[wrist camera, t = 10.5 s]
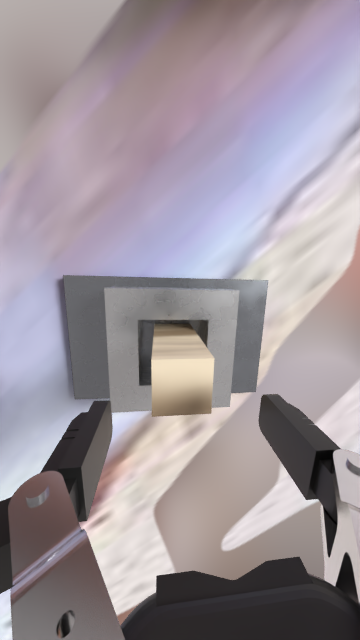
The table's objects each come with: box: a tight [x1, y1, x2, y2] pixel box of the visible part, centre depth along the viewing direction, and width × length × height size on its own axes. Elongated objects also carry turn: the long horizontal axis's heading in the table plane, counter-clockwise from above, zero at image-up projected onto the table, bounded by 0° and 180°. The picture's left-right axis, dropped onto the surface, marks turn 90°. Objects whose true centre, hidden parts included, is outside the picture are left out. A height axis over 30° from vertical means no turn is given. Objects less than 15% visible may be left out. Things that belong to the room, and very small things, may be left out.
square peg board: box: [63, 275, 268, 413], centre depth 21 cm, size 14×22×5 cm, turn 89°
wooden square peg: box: [151, 324, 215, 417], centre depth 18 cm, size 4×4×10 cm
